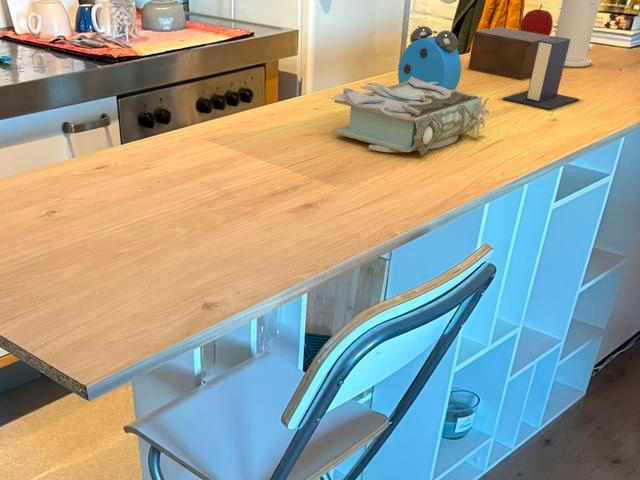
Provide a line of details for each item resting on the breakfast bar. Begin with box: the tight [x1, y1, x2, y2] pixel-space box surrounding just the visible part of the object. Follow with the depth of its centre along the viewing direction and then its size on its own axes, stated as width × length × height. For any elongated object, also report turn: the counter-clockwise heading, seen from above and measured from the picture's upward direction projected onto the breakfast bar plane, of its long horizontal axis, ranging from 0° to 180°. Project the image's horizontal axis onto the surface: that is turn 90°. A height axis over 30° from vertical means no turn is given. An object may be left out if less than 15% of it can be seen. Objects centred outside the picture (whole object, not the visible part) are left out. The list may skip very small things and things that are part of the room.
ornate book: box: [327, 76, 490, 157], centre depth 160 cm, size 23×10×30 cm
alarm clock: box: [397, 25, 462, 90], centre depth 178 cm, size 13×6×15 cm, turn 43°
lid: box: [473, 26, 555, 45], centre depth 208 cm, size 16×12×1 cm
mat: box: [502, 90, 580, 111], centre depth 190 cm, size 14×12×1 cm
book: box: [526, 37, 570, 102], centre depth 186 cm, size 8×4×12 cm, turn 136°
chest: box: [467, 34, 538, 81], centre depth 211 cm, size 16×12×8 cm
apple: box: [520, 4, 554, 36], centre depth 243 cm, size 9×9×10 cm
